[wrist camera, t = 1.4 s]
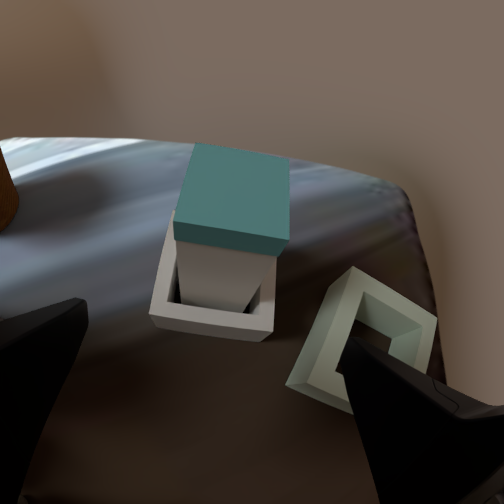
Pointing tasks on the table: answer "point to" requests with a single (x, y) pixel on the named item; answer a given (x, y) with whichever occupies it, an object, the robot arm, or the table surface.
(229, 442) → the table surface
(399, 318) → the socket block
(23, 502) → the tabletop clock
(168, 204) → the table surface
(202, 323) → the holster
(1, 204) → the disposable coffee cup
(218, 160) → the plug
